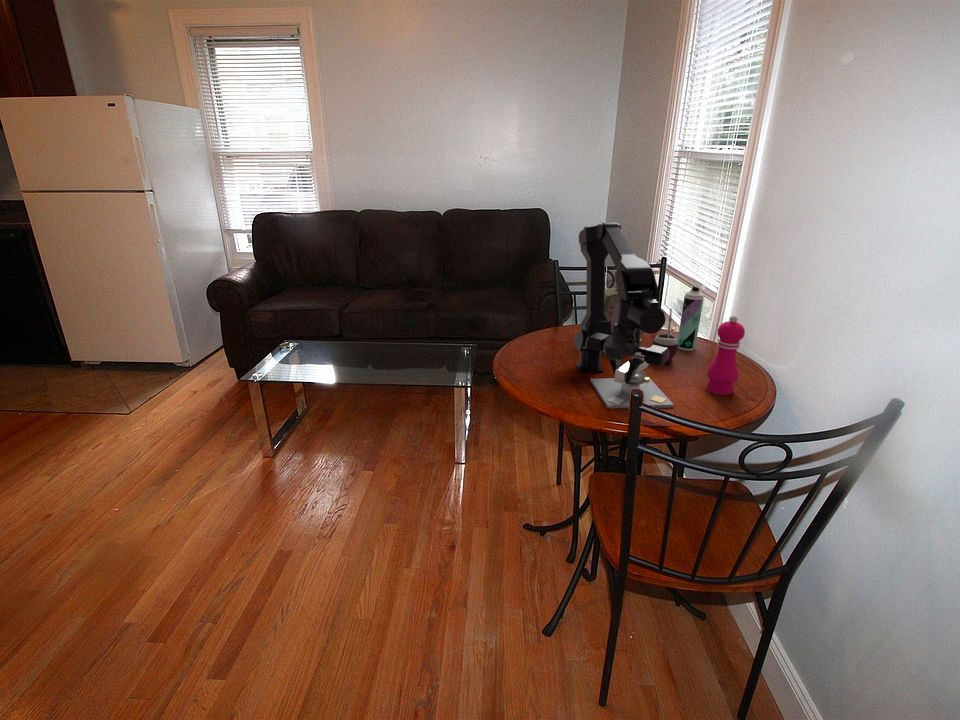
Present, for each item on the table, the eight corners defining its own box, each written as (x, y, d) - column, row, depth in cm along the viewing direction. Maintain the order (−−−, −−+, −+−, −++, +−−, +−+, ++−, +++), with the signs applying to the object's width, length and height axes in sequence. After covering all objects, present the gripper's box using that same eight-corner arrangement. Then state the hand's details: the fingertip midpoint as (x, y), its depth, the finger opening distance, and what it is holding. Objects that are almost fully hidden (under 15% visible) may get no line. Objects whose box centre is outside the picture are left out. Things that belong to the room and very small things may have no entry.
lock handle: (631, 366, 129) (633, 350, 128) (659, 374, 125) (662, 357, 123) (605, 385, 119) (606, 367, 117) (635, 393, 114) (637, 376, 112)
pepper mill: (725, 383, 129) (740, 311, 122) (740, 395, 122) (757, 320, 115) (699, 384, 129) (712, 311, 121) (712, 396, 122) (727, 320, 115)
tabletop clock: (599, 347, 155) (606, 269, 146) (592, 338, 163) (599, 264, 154) (644, 347, 155) (654, 269, 146) (635, 337, 164) (644, 263, 154)
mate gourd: (660, 368, 139) (668, 318, 134) (643, 358, 146) (649, 310, 141) (681, 364, 141) (690, 315, 136) (664, 355, 148) (671, 308, 143)
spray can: (679, 343, 158) (688, 283, 151) (696, 347, 155) (707, 285, 148) (674, 348, 154) (684, 286, 146) (692, 352, 151) (703, 289, 143)
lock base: (590, 381, 131) (591, 368, 129) (648, 380, 131) (650, 367, 130) (607, 409, 116) (609, 394, 114) (673, 407, 117) (675, 393, 115)
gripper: (577, 320, 111) (572, 382, 117) (657, 337, 101) (647, 404, 106) (598, 309, 119) (593, 368, 125) (675, 324, 109) (665, 387, 115)
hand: (622, 381), depth 118 cm, fingers closed on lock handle, 2 cm apart
